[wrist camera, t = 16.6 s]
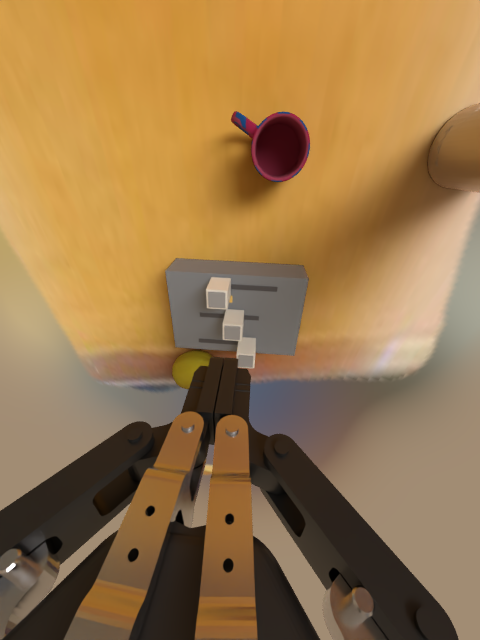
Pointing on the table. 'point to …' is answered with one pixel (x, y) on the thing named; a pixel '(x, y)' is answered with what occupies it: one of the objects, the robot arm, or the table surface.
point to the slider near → (218, 293)
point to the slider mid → (233, 325)
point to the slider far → (246, 352)
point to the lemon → (189, 366)
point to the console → (237, 304)
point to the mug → (277, 144)
